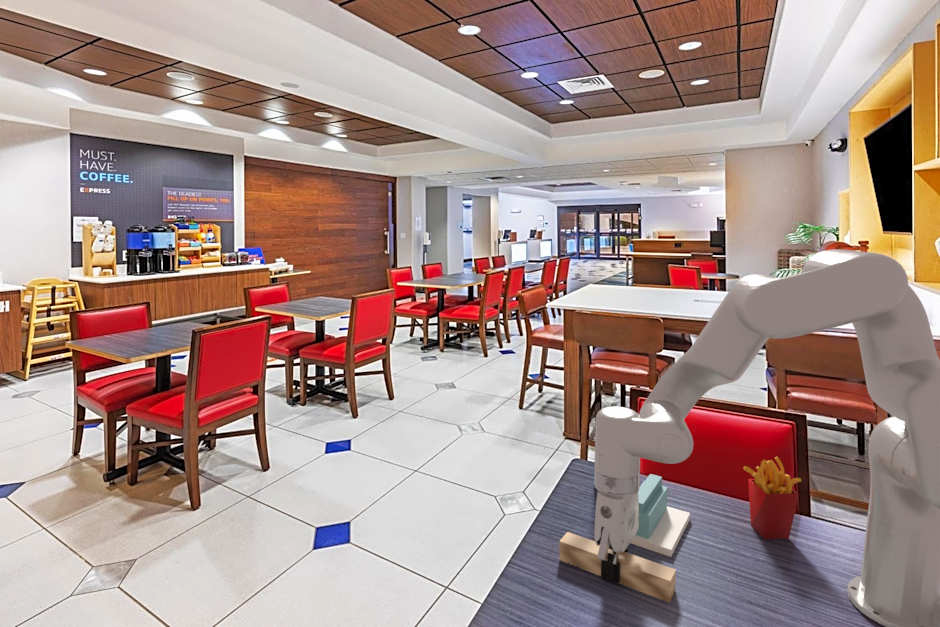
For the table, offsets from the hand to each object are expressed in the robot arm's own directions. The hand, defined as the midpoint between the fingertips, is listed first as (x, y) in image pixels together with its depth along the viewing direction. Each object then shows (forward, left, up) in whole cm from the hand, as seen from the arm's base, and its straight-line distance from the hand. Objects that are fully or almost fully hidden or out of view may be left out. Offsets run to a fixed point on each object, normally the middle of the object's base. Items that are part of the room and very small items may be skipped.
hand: (614, 572), depth 91 cm
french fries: (-20, -30, -1) cm, 36 cm away
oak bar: (0, 0, 0) cm, 0 cm away
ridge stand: (0, -18, 0) cm, 18 cm away
